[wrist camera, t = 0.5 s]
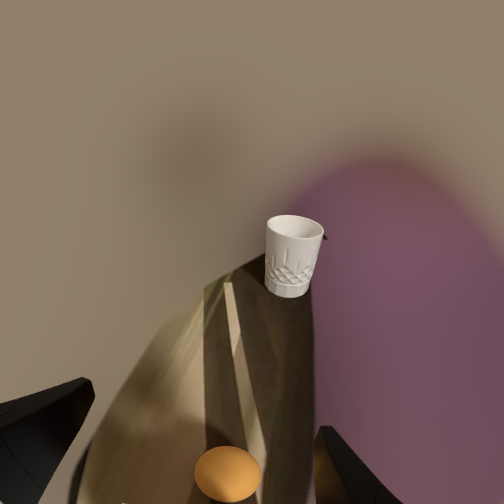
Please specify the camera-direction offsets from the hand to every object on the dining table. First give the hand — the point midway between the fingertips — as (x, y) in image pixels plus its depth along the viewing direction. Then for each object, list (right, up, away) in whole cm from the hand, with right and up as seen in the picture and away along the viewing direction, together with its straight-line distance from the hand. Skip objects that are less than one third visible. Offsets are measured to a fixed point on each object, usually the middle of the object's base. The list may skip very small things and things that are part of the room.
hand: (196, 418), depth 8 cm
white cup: (+7, +1, +34) cm, 35 cm away
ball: (0, -11, +7) cm, 13 cm away
